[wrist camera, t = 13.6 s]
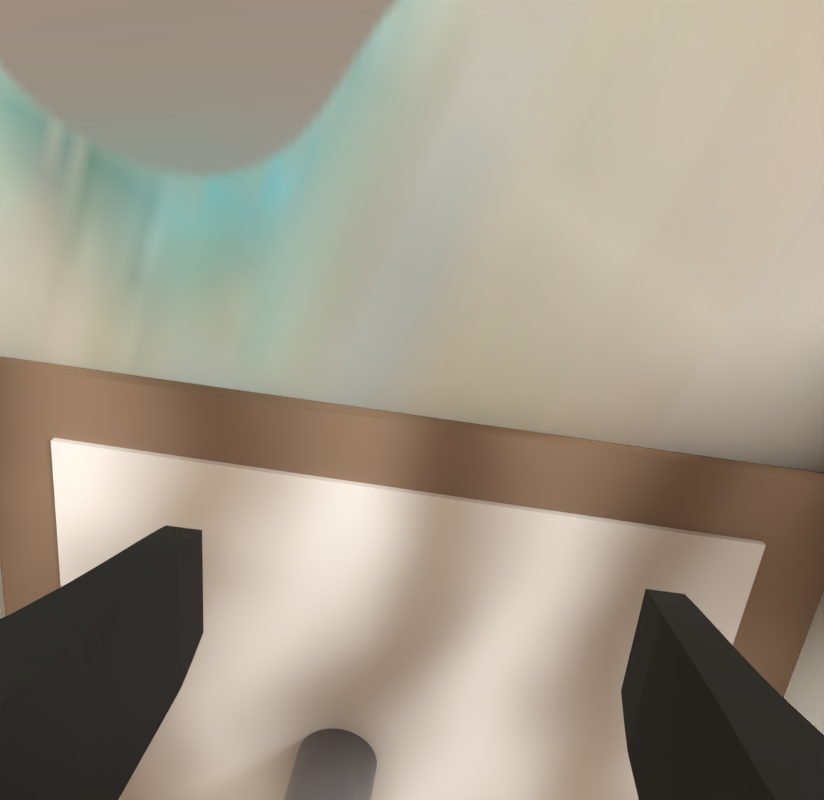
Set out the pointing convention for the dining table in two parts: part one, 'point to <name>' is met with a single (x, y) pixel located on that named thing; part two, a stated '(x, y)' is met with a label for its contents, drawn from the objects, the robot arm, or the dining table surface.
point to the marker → (333, 767)
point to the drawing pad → (398, 576)
